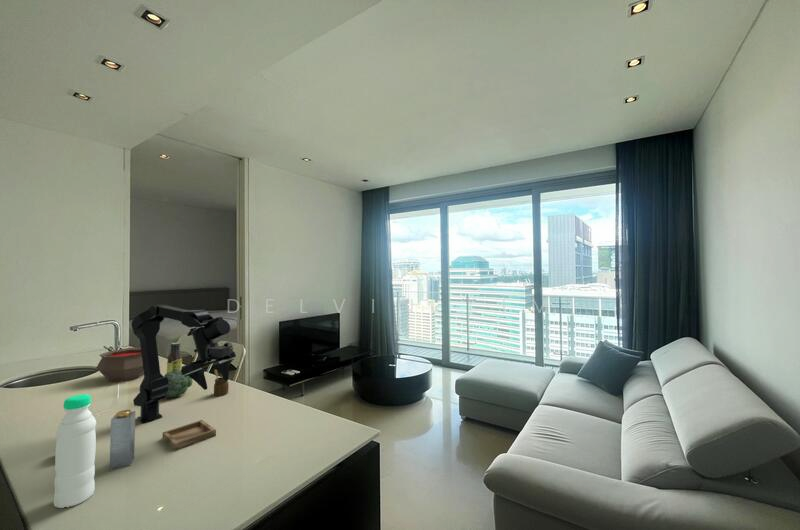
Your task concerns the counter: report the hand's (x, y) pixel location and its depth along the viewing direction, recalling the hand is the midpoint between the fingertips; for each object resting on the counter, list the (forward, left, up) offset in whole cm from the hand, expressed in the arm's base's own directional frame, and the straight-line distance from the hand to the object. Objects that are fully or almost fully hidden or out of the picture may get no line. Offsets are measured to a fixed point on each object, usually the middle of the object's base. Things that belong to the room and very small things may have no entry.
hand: (216, 384), depth 115 cm
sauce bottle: (-69, +8, -16) cm, 71 cm away
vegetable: (-49, +2, -16) cm, 52 cm away
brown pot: (-98, -5, -16) cm, 99 cm away
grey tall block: (+1, -26, -16) cm, 30 cm away
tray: (-1, -8, -16) cm, 18 cm away
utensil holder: (-34, +16, -16) cm, 41 cm away
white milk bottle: (+11, -37, -16) cm, 42 cm away
